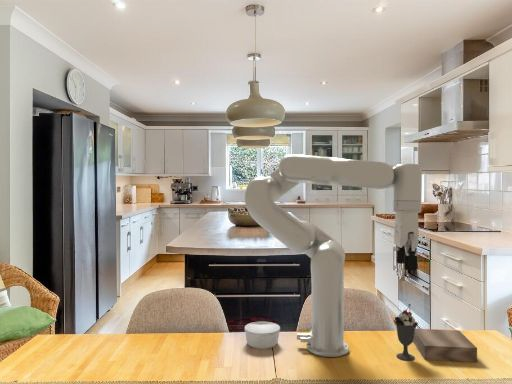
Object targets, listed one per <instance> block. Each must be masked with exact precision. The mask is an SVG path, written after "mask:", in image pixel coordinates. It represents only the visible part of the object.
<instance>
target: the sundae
mask: <svg viewBox="0 0 512 384" xmlns="http://www.w3.org/2000/svg"><path fill="white" fill-rule="evenodd" d="M408 309H409V311H408ZM412 314H413V313H412V312H411V304H410V303H409V304H408V307H407V308H406V309H404V310H402V312H400V313H399V314H398V316H395V317H394V320H393V323H394V325H395V326H396V334H397V340H398V341H399V343H400V344H402V346H403V350H402V352H400V353H397V354H396V358H398V359H399V360H401V361H407V362H411V361H414V360H415V356H414V355H413V354H411V353H409V350H408V348H409V346H410V345H411V344H412V343H413V339H414V332H415V329H416V327H417V326H419V322H417V321H416V319H415V318H414V316H412Z"/></svg>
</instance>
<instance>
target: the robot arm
mask: <svg viewBox="0 0 512 384" xmlns="http://www.w3.org/2000/svg"><path fill="white" fill-rule="evenodd" d="M422 173H423V169H422V166H421V165H420V164H419V163H399V164H397V165H396V164H394V165H393V164H388V163H386V162H385V161H384V162H383V161H372V160H364V159H363V160H362V159H349V158H348V159H347V158H340V157H334V156H321V155H320V156H318V155H311V154H310V155H308V154H307V155H306V154H298V153H297V154H295V153H292V154H286V155H285V156H283V157H282V158H281V159H280V161H279V164H278V167H277V168H276V169H275V170H274V171H272V172H271V173H270V174H268V175H266V176H257V177H255V178H253V179H252V180H251V181H249V183H248V184H247V186H246V189H245V193H244V202H245V207H246V210H247V212H248V214H249V216H250V217H251V218H252V220H254V221H255V222H256V223H257V224H258V225H259V226H260V227H262V228H263V229H264V230H265V231H266V232H268V233H269V234H270V235H271V236H273V237H274V239H276V240H278V241H279V242H280V243H281V244H283V245H284V246H285V247H286V248H287V249H288V250H290V251H291V252H293V253H295V254H305V256H308V258H310V276H311V277H310V279H311V280H310V281H311V329H310V332H307V333H298V332H297V333H296V340H297V341H300V343H306V350H307V351H308V352H310V353H311V354H313V355H316V356H319V357H326V358H328V357H329V358H336V357H337V358H338V357H342V356H344V355H346V354H348V353H349V352H350V347H349V345H348V343H346V342H345V340H344V339H345V338H344V336H345V335H344V330H345V329H344V328H345V327H344V325H345V324H344V323H345V318H344V316H345V314H344V313H345V312H344V310H345V308H344V307H345V305H344V304H345V303H344V301H345V296H344V295H345V294H344V292H345V290H344V289H345V287H344V285H345V283H344V282H345V281H344V278H345V277H344V274H345V273H344V272H345V270H344V267H345V260H346V253H345V249H344V248H343V246H342V245H341V244H340V243H339V242H338V241H336V239H334V238H332V237H331V236H330V235H328V233H326V232H324V231H323V230H322V229H321V228H319V227H318V226H317V225H315V224H314V223H312V222H309V221H307V220H298V218H296V217H295V216H293V215H292V214H290V213H289V212H288V211H287V210H285V209H284V208H283V207H281V206H280V205H278V204H277V203H276V201H278V200H279V199H281V198H282V197H283V196H284V195H286V194H288V193H289V192H290V191H291V190H293V189H294V188H296V187H297V186H298V185H299V184H301V183H302V184H310V185H311V184H312V185H319V186H330V187H339V186H340V187H341V186H343V187H344V186H345V187H355V188H364V189H365V188H366V189H373V190H374V189H376V190H384V189H392V188H393V201H392V203H393V205H392V206H393V209H392V211H393V212H394V213H395V214H394V215H395V217H394V226H393V227H394V231H393V243H394V245H396V263H397V264H403V266H404V267H403V268H404V270H405V271H417V270H418V253H417V252H418V246H419V236H420V235H419V213H422V189H423V187H422V186H423V185H422V183H423V182H422V181H423V180H422V179H423V176H422V175H423V174H422ZM393 212H392V213H393Z"/></svg>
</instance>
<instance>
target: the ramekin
mask: <svg viewBox="0 0 512 384" xmlns="http://www.w3.org/2000/svg"><path fill="white" fill-rule="evenodd" d="M244 332H245V333H244V334H245V339H246V344H247V345H248V346H249V347H250V348H254V349H259V350H266V349H268V350H269V349H271V348H274V347H276V346H277V344H278V342H279V337H280V332H281V326H280V325H279V324H277V323H274V322H270V321H255V322H250V323H247V324H246V325H245V326H244Z"/></svg>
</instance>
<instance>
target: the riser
mask: <svg viewBox="0 0 512 384" xmlns="http://www.w3.org/2000/svg"><path fill="white" fill-rule="evenodd" d="M412 343H413V344H414V345H415V347H416V349H417V350H418V352H419V353H420V355H421V356H422V358H423V359H424V360H427V361H429V360H430V361H448V362H466V363H467V362H468V363H478V347H477V346H476V345H474V344H473V343H472V342H471V341H470V340H469V339H468V338H467V337H466V336H465V335H464V334H463V332H461V330H454V329H434V328H433V329H432V328H415V332H414V339H413V342H412Z"/></svg>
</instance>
